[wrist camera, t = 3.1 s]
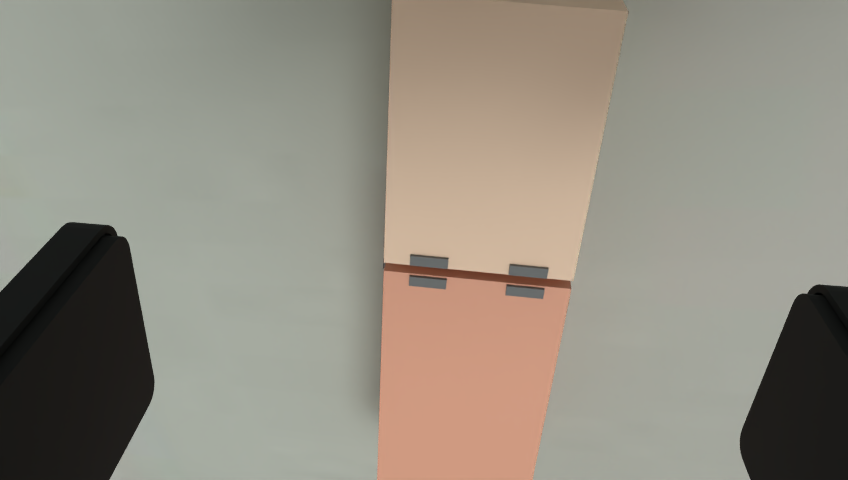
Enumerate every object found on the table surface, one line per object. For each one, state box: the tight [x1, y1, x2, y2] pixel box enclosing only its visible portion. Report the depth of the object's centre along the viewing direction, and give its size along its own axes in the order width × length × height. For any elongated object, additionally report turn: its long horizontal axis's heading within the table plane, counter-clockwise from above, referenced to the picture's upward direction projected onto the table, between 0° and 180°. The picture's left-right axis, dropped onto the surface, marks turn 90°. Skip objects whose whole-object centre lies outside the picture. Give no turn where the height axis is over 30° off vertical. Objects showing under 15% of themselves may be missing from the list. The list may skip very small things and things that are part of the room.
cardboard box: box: [377, 259, 571, 480], centre depth 25 cm, size 12×5×6 cm, turn 177°
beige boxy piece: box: [384, 0, 628, 281], centre depth 20 cm, size 7×5×6 cm
